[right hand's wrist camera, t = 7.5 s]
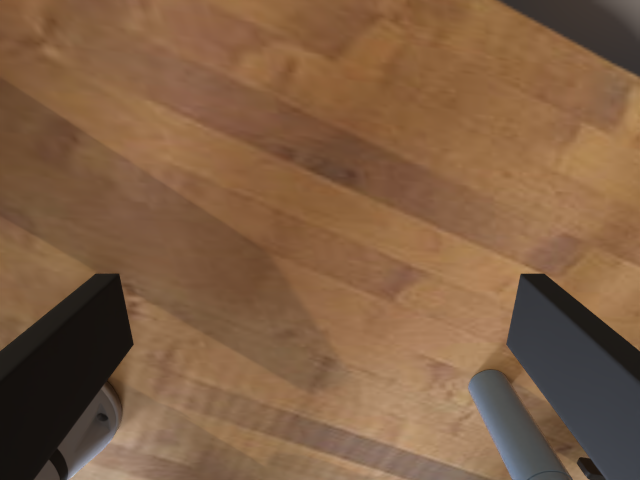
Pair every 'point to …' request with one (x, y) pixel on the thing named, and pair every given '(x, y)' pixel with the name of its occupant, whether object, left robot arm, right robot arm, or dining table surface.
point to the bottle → (514, 429)
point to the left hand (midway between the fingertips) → (598, 440)
